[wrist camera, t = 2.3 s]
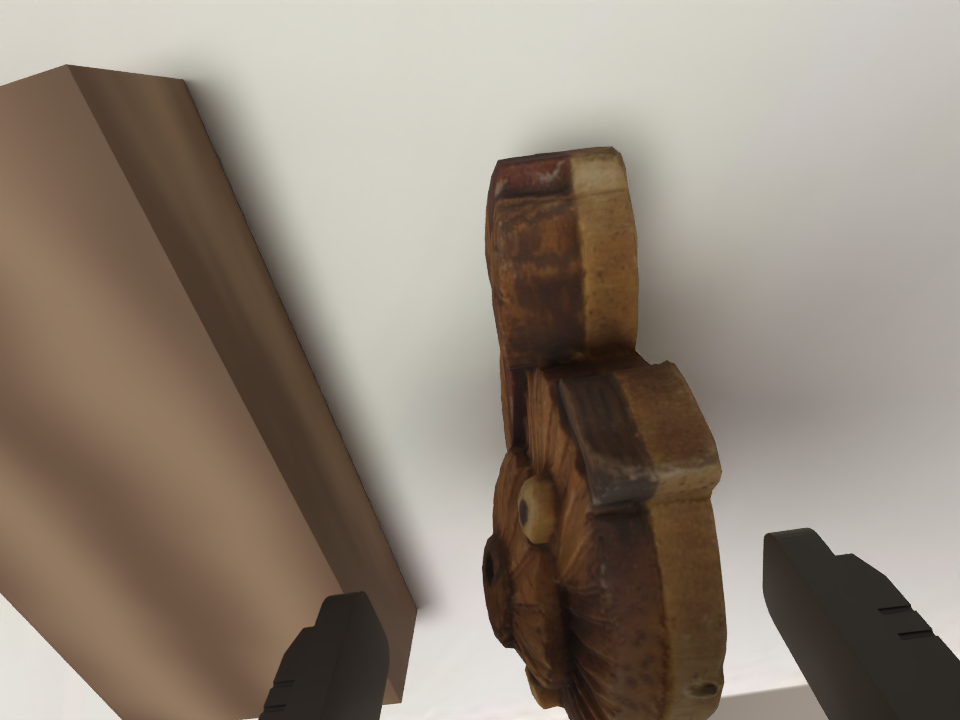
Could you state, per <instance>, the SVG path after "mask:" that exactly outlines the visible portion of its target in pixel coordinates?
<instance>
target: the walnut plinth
mask: <svg viewBox="0 0 960 720" xmlns="http://www.w3.org/2000/svg"><path fill="white" fill-rule="evenodd" d="M358 591H364V592H365V593H366V594H367V596H368V597H369V600H370V602H371V604H372V606H373V608H374V610H375V612H376V614H377V616H378V619H379V621H380V623H381V625H382V627H383V629H384V631H385V633H386V636H387V639H388V643H389V651H390V663H389V671H388V676H387V682H386V687H385V692H384V697H383V703H382V705H387V704H397V703H401V702H402V696H403V691H404V685H405V679H406V673H407V667H408V662H409V656H410V650H411V644H412V639H413V633H414V627H415V621H416V615H417V609H416V606H415V604H414V602H413V600H412V597H411V595H410V593H409V591H408V588H407V586H406V584H405V581H404V579H403V577H402V575H401V572H400V570H399V568H398V566H397V563H396V561H395V559H394V556H393V554H392V552H391V550H390V547H389V545H388V543H387V541H386V538H385V536H384V534H383V532H382V529H381V527H380V525H379V522H378V520H377V518H376V516H375V513H374V511H373V509H372V507H371V504H370V502H369V500H368V498H367V495H366V493H365V491H364V488H363V486H362V484H361V482H360V479H359V477H358V475H357V473H356V470H355V468H354V466H353V463H352V461H351V459H350V457H349V454H348V452H347V450H346V448H345V445H344V443H343V441H342V439H341V436H340V434H339V432H338V429H337V427H336V425H335V423H334V420H333V418H332V416H331V414H330V411H329V409H328V407H327V405H326V402H325V400H324V398H323V395H322V393H321V391H320V389H319V386H318V384H317V382H316V380H315V377H314V375H313V373H312V370H311V368H310V366H309V364H308V361H307V359H306V357H305V355H304V352H303V350H302V348H301V346H300V343H299V341H298V339H297V336H296V334H295V332H294V330H293V327H292V325H291V323H290V321H289V318H288V316H287V314H286V312H285V309H284V307H283V305H282V302H281V300H280V298H279V296H278V293H277V291H276V289H275V287H274V284H273V282H272V280H271V277H270V275H269V273H268V271H267V268H266V266H265V264H264V262H263V259H262V257H261V255H260V253H259V250H258V248H257V246H256V243H255V241H254V239H253V237H252V234H251V232H250V230H249V228H248V225H247V223H246V221H245V219H244V216H243V214H242V212H241V209H240V207H239V205H238V203H237V200H236V198H235V196H234V194H233V191H232V189H231V187H230V184H229V182H228V180H227V178H226V175H225V173H224V171H223V169H222V166H221V164H220V162H219V160H218V157H217V155H216V153H215V150H214V148H213V146H212V144H211V141H210V139H209V137H208V135H207V132H206V130H205V128H204V126H203V123H202V121H201V119H200V116H199V114H198V112H197V110H196V107H195V105H194V103H193V101H192V98H191V96H190V94H189V91H188V89H187V87H186V85H185V82H184V80H183V79H175V78H167V77H160V76H152V75H144V74H136V73H129V72H121V71H113V70H106V69H98V68H90V67H82V66H75V65H67V64H66V65H63V66H60V67H57V68H54V69H51V70H48V71H45V72H42V73H39V74H36V75H33V76H30V77H27V78H24V79H21V80H18V81H15V82H12V83H9V84H6V85H3V86H0V593H1V594H2V595H3V596H4V597H5V598H6V599H7V600H8V601H9V602H10V603H11V604H12V605H13V606H14V608H15V609H16V610H17V611H18V612H19V613H20V614H21V615H22V616H23V617H24V618H25V619H26V620H27V621H28V622H29V623H30V624H31V625H32V626H33V627H34V628H35V629H36V630H37V632H38V633H39V634H40V635H41V636H42V637H43V638H44V639H45V640H46V641H47V642H48V643H49V644H50V645H51V646H52V647H53V648H54V649H55V650H56V651H57V652H58V653H59V654H60V655H61V657H62V658H63V659H64V660H65V661H66V662H67V663H68V664H69V665H70V666H71V667H72V668H73V669H74V670H75V671H76V672H77V673H78V674H79V675H80V676H81V677H82V678H83V679H84V680H85V682H86V683H87V684H88V685H89V686H90V687H91V688H92V689H93V690H94V691H95V692H96V693H97V694H98V695H99V696H100V697H101V698H102V699H103V700H104V701H105V702H106V703H107V704H108V706H109V707H110V708H111V709H112V710H113V711H114V712H115V713H116V714H117V715H118V716H119V717H120V718H121V719H122V720H243V719H252V718H259V716H260V714H261V713H263V711H264V707H263V706H264V704H265V701H266V699H267V696H268V694H269V691H270V688H273V681H274V678H275V676H276V673H277V671H278V668H279V666H280V663H281V660H282V658H283V655H284V653H285V652H286V650H287V649H288V648H289V646H290V645H291V644H292V642H293V641H294V640H295V638H296V637H297V636H298V634H299V633H300V631H301V630H302V629H303V628H305V627H313V626H314V625H315V622H316V619H317V617H318V614H319V611H320V608H321V605H322V603H323V601H324V600H325V598H326V597H328V596H331V595H338V594H344V593H351V592H358Z"/></svg>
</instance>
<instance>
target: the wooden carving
mask: <svg viewBox="0 0 960 720" xmlns="http://www.w3.org/2000/svg"><path fill="white" fill-rule="evenodd" d="M485 256H486V263H487V269H488V275H489V280H490V284H491V288H492V303H493V310H494V316H495V322H496V328H497V334H498V340H499V345H500V370H501V371H500V377H501V401H502V412H503V420H504V431H505V439H506V447H507V453H506V455H505V457H504V460H503V462H502V465H501V468H500V474H499V477H498V479H497V482H496V485H495V493H494V506H493V535H492V536H491V537H490V538H488V540H487V543H486V546H485V548H484V556H483V565H482V572H483V586H484V593H485V600H486V606H487V610H488V615H489V620H490V623H491V626H492V629H493V632H494V635H495V636H496V638H497V639H498V640H499V641H500V643H501V644H502V645H503V646H504V647H505V648H514V649H515V650H516V651H517V653H518V654H519V655H520V657H521V658H522V659H523V661H524V662H525V663H526V668H525V672H526V675H527V678H528V682H529V685H530V689H531V692H532V695H533V696H534V698H535V700H536V701H537V703H538V704H539V705H540V706H541V707H542V708H543V709H548V708H552V707H556V706H559V707H563V708H565V710H566V712H567V714H568V717H569V719H570V720H707V719H708V717H710V716H711V715H712V714H713V713H714V712H715V711H716V709H717V708H718V705H719V701H720V697H721V693H722V689H723V685H724V675H723V663H724V658H725V654H726V641H727V626H726V613H725V601H724V592H723V583H722V574H721V564H720V555H719V547H718V540H717V534H716V527H715V521H714V514H713V509H712V505H711V500H710V497H711V494H712V490H713V489H714V487H715V486H716V485H717V484H718V482H719V481H720V477H721V473H722V470H721V465H720V461H719V456H718V452H717V448H716V443H715V440H714V438H713V436H712V434H711V431H710V429H709V427H708V425H707V423H706V421H705V419H704V417H703V415H702V413H701V411H700V409H699V406H698V404H697V402H696V400H695V398H694V396H693V394H692V392H691V390H690V388H689V386H688V384H687V382H686V380H685V378H684V377H683V375H682V374H681V373H680V371H679V370H678V368H677V367H676V365H675V364H674V363H670V362H669V361H668V360H666V361H665V362H663V363H661V364H654V365H650V364H649V363H647V362H646V361H645V360H644V359H643V358H642V357H641V356H640V355H639V354H638V353H637V352H636V351H635V344H636V336H637V324H638V289H639V278H638V269H637V233H636V227H635V221H634V215H633V210H632V205H631V200H630V195H629V190H628V185H627V177H626V169H625V165H624V162H623V159H622V156H621V154H620V153H619V152H618V151H617V150H615V149H614V148H613V147H593V148H584V149H577V150H570V151H562V152H553V153H542V154H535V155H530V156H522V157H514V158H508V159H502V160H498V161H497V164H496V166H495V169H494V171H493V174H492V176H491V181H490V187H489V190H488V198H487V206H486V223H485Z"/></svg>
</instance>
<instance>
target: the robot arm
mask: <svg viewBox="0 0 960 720" xmlns="http://www.w3.org/2000/svg"><path fill="white" fill-rule="evenodd" d="M763 594H764V598H765V602H766V605H767V608H768V611H769V613H770V616H771V618H772V620H773V622H774V624H775V626H776V627H777V629H778V631H779V633H780V634H781V636H782V638H783V640H784V641H785V643H786V645H787V647H788V649H789V650H790V652H791V654H792V656H793V657H794V659H795V661H796V663H797V664H798V666H799V668H800V670H801V672H802V673H803V675H804V677H805V679H806V680H807V682H808V684H809V686H810V687H811V689H812V691H813V692H814V694H815V696H816V698H817V700H818V702H819V703H820V705H821V707H822V709H823V710H824V712H825V714H826V716H827V717H828V719H829V720H960V660H959V659H958V658H957V657H956V656H955V655H954V654H953V652H952V651H951V650H950V649H949V648H948V647H947V646H946V644H945V643H944V642H943V641H942V640H941V639H940V638H939V636H935V635H934V633H933V631H932V628H931V627H930V626H929V625H928V624H927V623H926V621H925V620H924V619H923V618H922V617H921V616H920V615H919V613H918V612H917V611H914V610H913V609H912V608H911V604H910V603H909V602H908V601H907V600H906V599H905V597H904V596H903V595H902V594H901V593H900V592H899V591H898V589H897V588H896V587H895V586H894V585H893V584H892V583H891V581H890V580H889V579H888V578H887V577H886V576H885V575H884V574H882V573H881V572H879V571H878V570H876V569H875V568H873V567H872V566H870V565H869V564H867V563H866V562H864V561H863V560H861V559H860V558H858V557H857V556H855V555H854V554H844V555H837V556H835V555H834V554H833V552H832V551H831V550H830V549H829V547H828V546H827V545H826V544H825V542H824V541H823V540H822V539H821V537H820V536H819V535H818V534H817V533H816V532H815V531H814V530H812V529H811V528H801V529H794V530H787V531H780V532H773V533H767V534H766V535H765V536H764V550H763ZM389 663H390V651H389V643H388V639H387V636H386V633H385V631H384V629H383V627H382V625H381V623H380V621H379V619H378V616H377V614H376V612H375V610H374V608H373V606H372V604H371V602H370V600H369V597H368V596H367V594H366V593H365V592H364V591H358V592H351V593H344V594H338V595H331V596H328V597H326V598H325V600H324V601H323V603H322V605H321V608H320V611H319V614H318V617H317V619H316V622H315V625H314V626H313V627H305V628H303V629H302V630H301V631H300V633H299V634H298V636H297V637H296V638H295V640H294V641H293V642H292V644H291V645H290V646H289V648H288V649H287V650H286V652H285V653H284V655H283V658H282V660H281V663H280V666H279V668H278V671H277V673H276V676H275V678H274V681H273V688H270V691H269V694H268V696H267V699H266V701H265V704H264V706H263V707H264V711H263V713H261V714H260V716H259V719H258V720H379V719H380V713H381V708H382V703H383V697H384V692H385V687H386V682H387V676H388V671H389Z"/></svg>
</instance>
